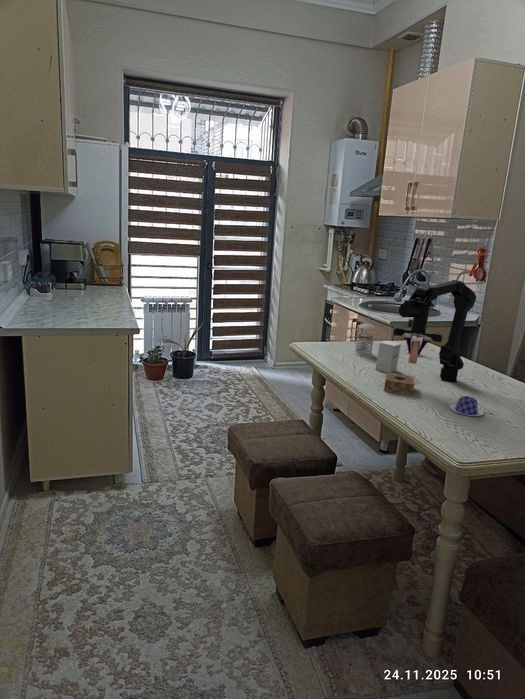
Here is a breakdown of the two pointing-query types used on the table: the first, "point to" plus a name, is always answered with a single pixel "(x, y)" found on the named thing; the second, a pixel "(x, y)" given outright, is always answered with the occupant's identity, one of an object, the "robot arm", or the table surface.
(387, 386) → the bore block
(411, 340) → the lily
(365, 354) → the french press
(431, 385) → the table surface
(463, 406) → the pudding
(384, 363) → the supplement box
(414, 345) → the pin
